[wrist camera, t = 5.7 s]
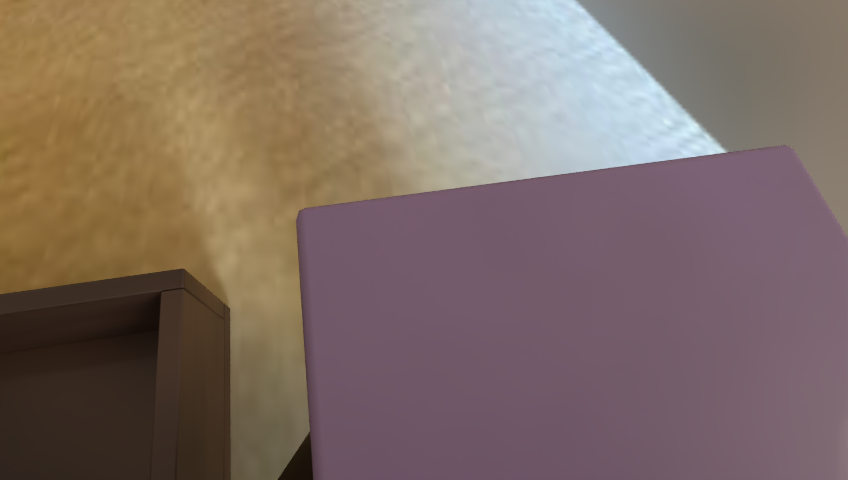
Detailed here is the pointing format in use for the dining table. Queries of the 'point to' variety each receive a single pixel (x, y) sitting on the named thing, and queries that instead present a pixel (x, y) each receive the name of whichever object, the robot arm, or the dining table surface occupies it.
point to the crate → (115, 381)
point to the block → (582, 327)
